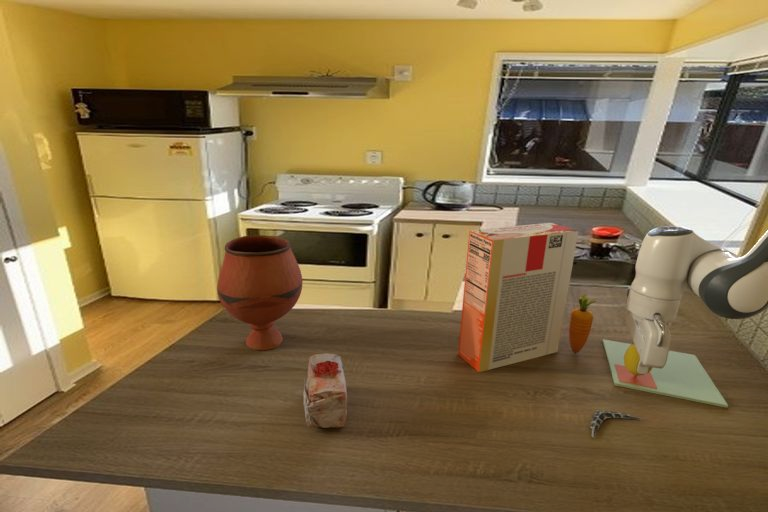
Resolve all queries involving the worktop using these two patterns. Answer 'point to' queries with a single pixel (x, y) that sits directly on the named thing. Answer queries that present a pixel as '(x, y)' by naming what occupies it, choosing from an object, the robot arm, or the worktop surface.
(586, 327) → the carrot
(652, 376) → the mat
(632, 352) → the lemon
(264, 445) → the worktop surface
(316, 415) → the food item
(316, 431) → the worktop surface
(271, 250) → the goblet
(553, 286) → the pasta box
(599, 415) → the patterned boomerang
